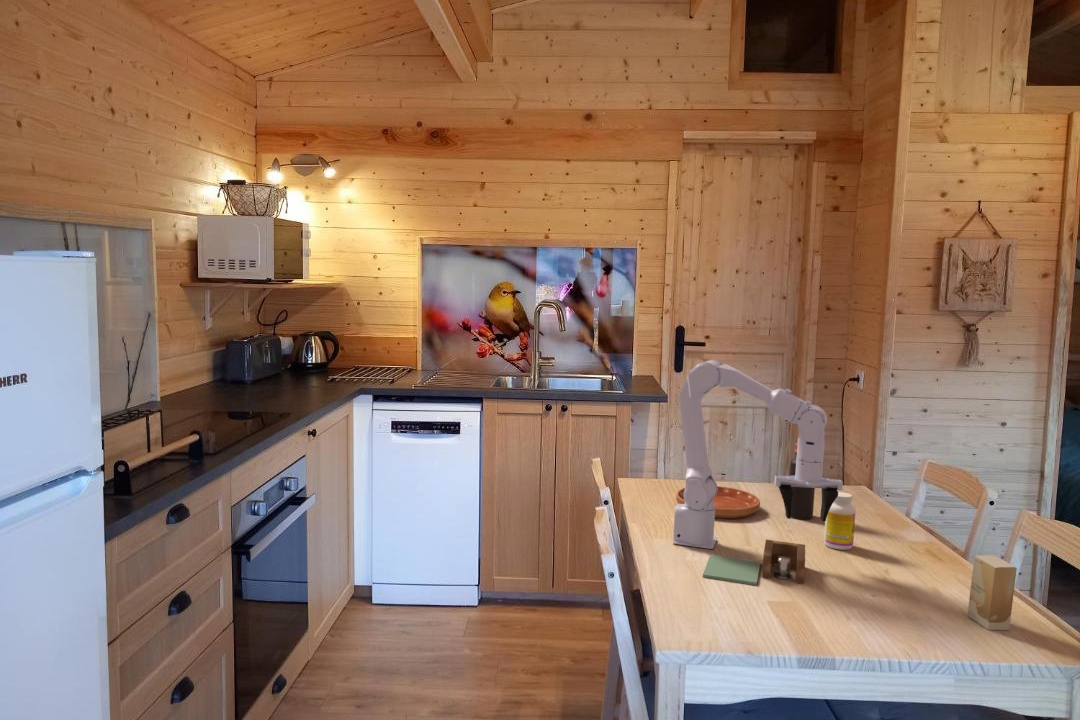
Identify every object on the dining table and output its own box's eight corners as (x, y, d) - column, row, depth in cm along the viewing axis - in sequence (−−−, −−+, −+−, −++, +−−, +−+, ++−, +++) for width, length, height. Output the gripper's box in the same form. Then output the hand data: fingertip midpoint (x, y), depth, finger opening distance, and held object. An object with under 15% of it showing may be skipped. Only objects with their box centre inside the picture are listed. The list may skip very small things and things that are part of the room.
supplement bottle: (855, 552, 177) (859, 499, 176) (826, 549, 179) (829, 496, 178) (849, 542, 184) (853, 491, 183) (821, 540, 185) (824, 489, 184)
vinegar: (815, 515, 206) (820, 444, 204) (809, 521, 200) (814, 448, 198) (790, 511, 210) (794, 440, 208) (783, 516, 204) (788, 444, 202)
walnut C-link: (761, 577, 160) (763, 554, 159) (764, 560, 170) (765, 539, 169) (803, 584, 157) (805, 560, 156) (803, 566, 167) (805, 544, 166)
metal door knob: (774, 578, 159) (775, 559, 159) (774, 572, 163) (776, 554, 162) (791, 580, 158) (792, 562, 158) (791, 574, 162) (792, 557, 161)
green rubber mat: (702, 577, 159) (702, 574, 159) (710, 557, 171) (710, 554, 171) (756, 585, 155) (756, 582, 155) (760, 564, 167) (760, 561, 167)
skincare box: (966, 616, 143) (972, 554, 142) (987, 615, 144) (993, 554, 142) (989, 631, 137) (995, 566, 136) (1011, 631, 137) (1017, 566, 136)
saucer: (759, 525, 196) (760, 511, 196) (671, 515, 203) (672, 502, 202) (759, 502, 218) (760, 490, 218) (680, 494, 225) (680, 482, 224)
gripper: (780, 461, 165) (776, 521, 167) (848, 465, 164) (843, 526, 165) (774, 454, 172) (770, 512, 174) (839, 458, 171) (835, 516, 172)
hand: (805, 518), depth 170 cm, fingers open, 7 cm apart
